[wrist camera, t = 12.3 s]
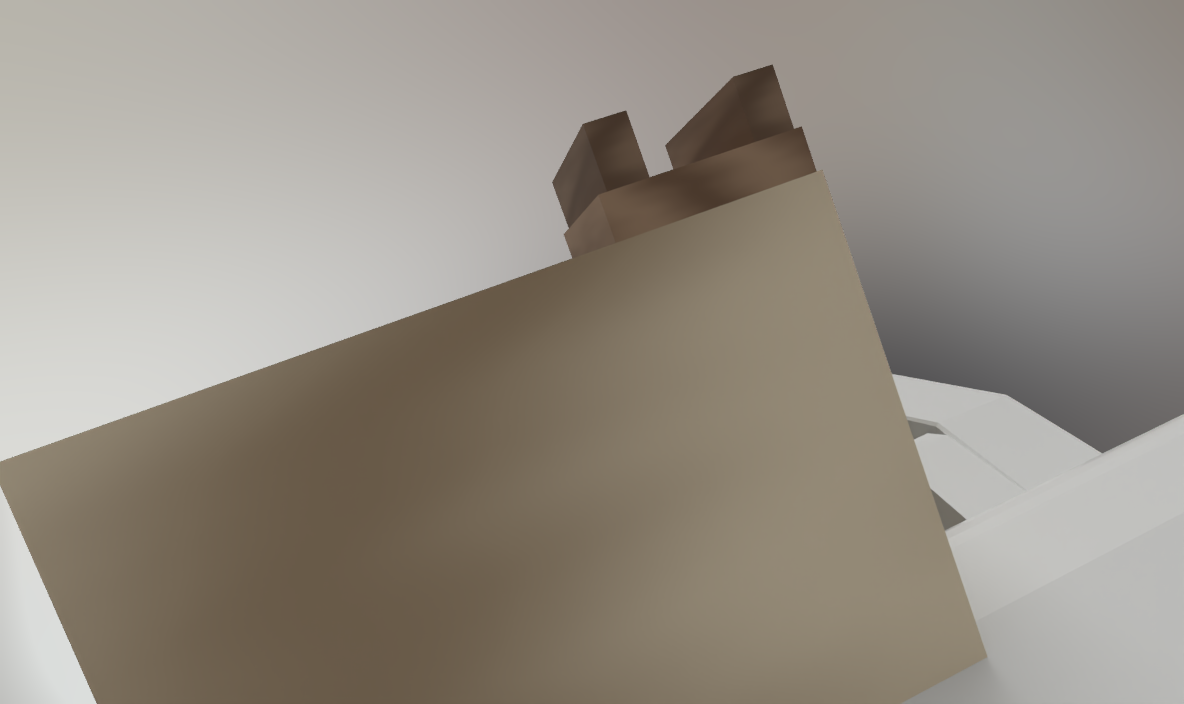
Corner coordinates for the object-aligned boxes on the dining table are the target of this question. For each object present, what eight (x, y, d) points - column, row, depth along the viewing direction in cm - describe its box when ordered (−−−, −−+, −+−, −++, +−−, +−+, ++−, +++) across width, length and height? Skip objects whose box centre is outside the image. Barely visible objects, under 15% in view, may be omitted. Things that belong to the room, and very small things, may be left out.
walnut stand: (793, 739, 30) (574, 126, 27) (712, 642, 39) (545, 184, 37) (973, 645, 31) (780, 62, 29) (852, 574, 41) (701, 133, 39)
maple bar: (349, 1281, 3) (-9, 463, 3) (456, 454, 27) (420, 362, 26) (1054, 851, 4) (821, 168, 3) (547, 418, 27) (513, 328, 27)
